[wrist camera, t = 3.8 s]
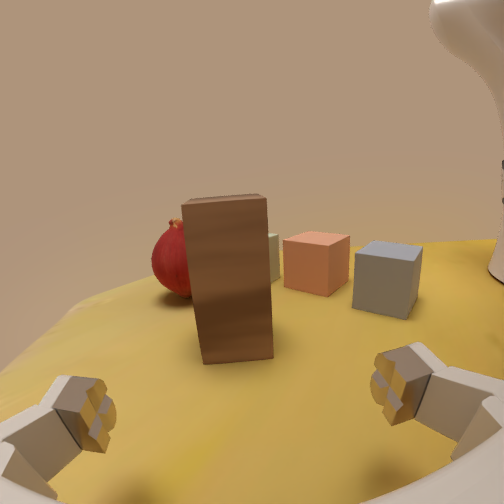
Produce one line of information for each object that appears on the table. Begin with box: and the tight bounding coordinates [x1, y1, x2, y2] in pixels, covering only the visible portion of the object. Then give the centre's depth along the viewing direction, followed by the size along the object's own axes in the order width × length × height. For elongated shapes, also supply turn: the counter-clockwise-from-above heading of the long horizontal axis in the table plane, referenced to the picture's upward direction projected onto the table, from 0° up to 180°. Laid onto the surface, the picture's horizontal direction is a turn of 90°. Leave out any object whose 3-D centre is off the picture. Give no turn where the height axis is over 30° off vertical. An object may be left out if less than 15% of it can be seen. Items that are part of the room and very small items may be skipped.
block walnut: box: [181, 194, 273, 364], centre depth 18 cm, size 4×4×10 cm
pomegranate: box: [151, 218, 192, 298], centre depth 27 cm, size 6×6×8 cm
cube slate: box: [352, 241, 423, 320], centre depth 23 cm, size 5×5×5 cm
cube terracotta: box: [283, 231, 350, 297], centre depth 29 cm, size 5×5×5 cm
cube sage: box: [268, 233, 280, 282], centre depth 31 cm, size 5×5×5 cm
